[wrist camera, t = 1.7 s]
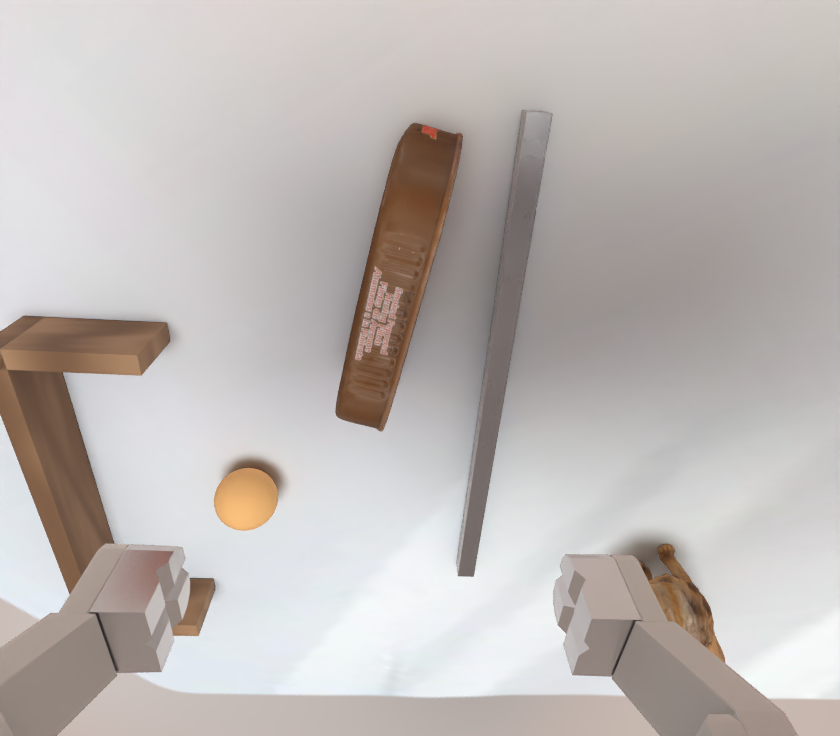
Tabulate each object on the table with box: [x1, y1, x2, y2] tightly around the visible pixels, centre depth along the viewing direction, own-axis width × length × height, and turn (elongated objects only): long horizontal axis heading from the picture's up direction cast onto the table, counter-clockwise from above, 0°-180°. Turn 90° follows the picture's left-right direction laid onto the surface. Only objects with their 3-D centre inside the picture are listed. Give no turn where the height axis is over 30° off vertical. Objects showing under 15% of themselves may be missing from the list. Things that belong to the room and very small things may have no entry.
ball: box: [214, 468, 278, 530], centre depth 35 cm, size 4×4×4 cm
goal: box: [0, 316, 215, 636], centre depth 35 cm, size 8×23×4 cm, turn 176°
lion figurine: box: [639, 544, 725, 663], centre depth 40 cm, size 15×5×9 cm, turn 39°
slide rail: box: [457, 110, 552, 577], centre depth 33 cm, size 1×32×1 cm, turn 177°
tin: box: [336, 123, 463, 431], centre depth 26 cm, size 15×3×8 cm, turn 165°
